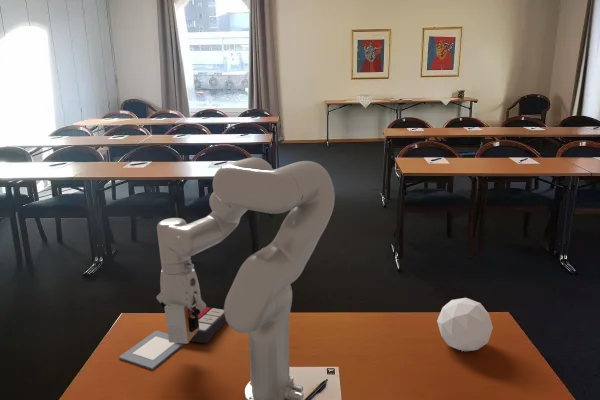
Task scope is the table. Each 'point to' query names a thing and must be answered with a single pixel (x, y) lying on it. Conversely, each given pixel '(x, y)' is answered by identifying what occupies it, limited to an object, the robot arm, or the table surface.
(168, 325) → the small box
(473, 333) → the geometric sphere
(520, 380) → the table surface
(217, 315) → the calculator
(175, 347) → the board
